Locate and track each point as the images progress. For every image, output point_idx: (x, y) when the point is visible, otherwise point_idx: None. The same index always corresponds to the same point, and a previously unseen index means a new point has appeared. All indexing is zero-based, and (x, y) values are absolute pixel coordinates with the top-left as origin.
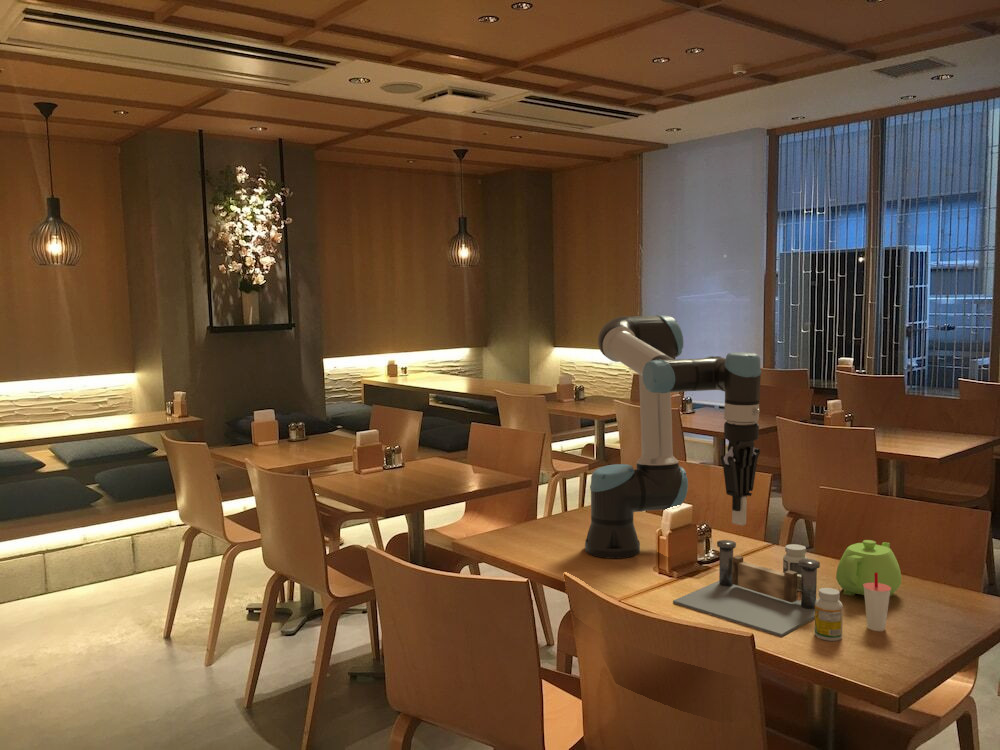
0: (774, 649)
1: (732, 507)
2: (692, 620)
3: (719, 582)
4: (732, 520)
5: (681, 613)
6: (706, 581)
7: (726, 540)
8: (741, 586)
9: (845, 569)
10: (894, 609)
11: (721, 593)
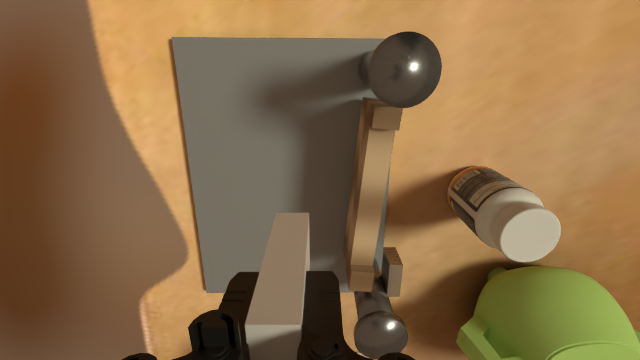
0: (155, 303)
1: (227, 286)
2: (132, 137)
3: (365, 54)
4: (274, 221)
5: (142, 95)
6: (376, 2)
7: (433, 53)
8: (359, 126)
9: (472, 343)
10: (460, 351)
11: (305, 100)
